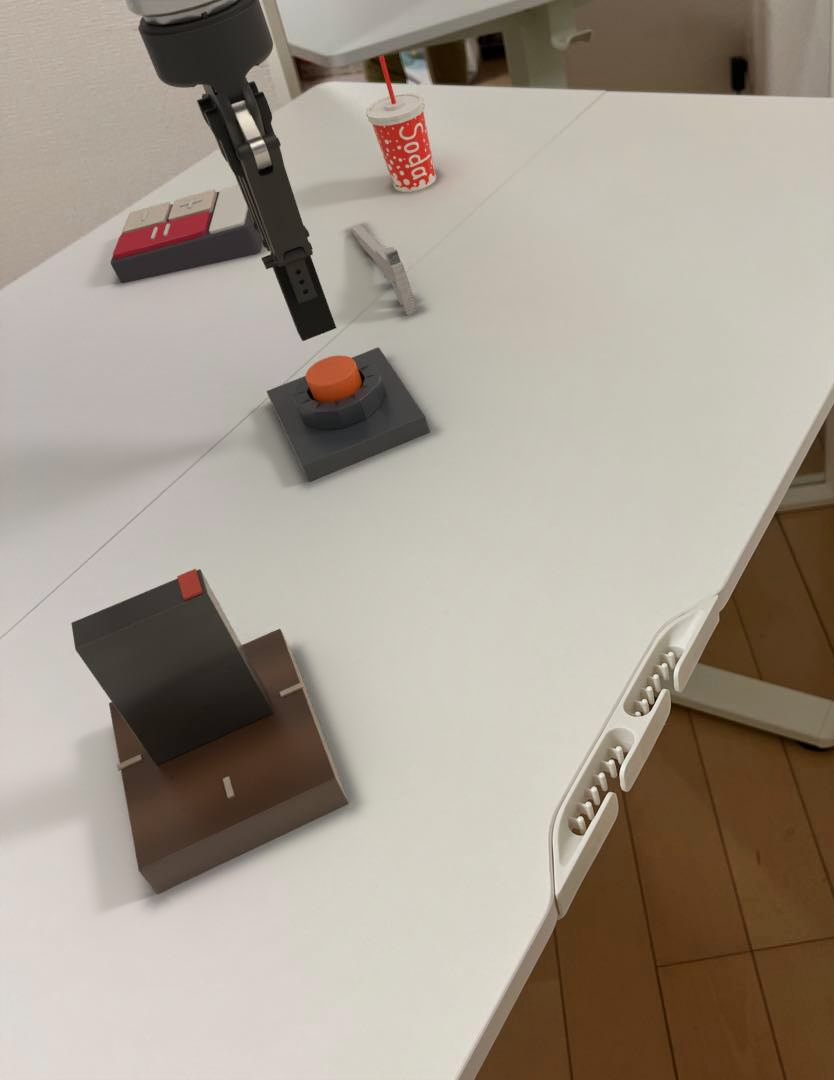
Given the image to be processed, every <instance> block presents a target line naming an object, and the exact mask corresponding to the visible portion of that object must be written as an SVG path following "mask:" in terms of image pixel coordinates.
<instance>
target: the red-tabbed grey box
mask: <svg viewBox="0 0 834 1080" xmlns="http://www.w3.org/2000/svg"><path fill="white" fill-rule="evenodd" d="M71 630H72V637H73V643H74V650H75V652H76V653H77V654H78V656H79V657H80V658H81V660H82V661H83V663H84V664H85V666H86V667H87V669H88V670H89V672H90V673H91V674H92V676H93V677H94V678H95V680H96V681H97V683H98V684H99V686H100V688H102V690H103V691H104V693H105V694H106V696H107V697H108V699H109V700H110V702H112V703H113V704H114V706H115V707H116V708H117V710H118V711H119V713H120V714H121V716H122V717H123V718H124V720H125V721H126V723H127V724H128V726H129V727H130V728H131V730H132V731H133V733H134V734H135V736H136V737H137V738H138V740H139V741H140V743H141V744H142V746H143V747H144V748H145V750H146V751H147V753H148V754H149V755H150V757H151V758H152V760H153V761H154V763H155V764H156V765H159V764H161V763H163V762H165V761H167V760H170V759H172V758H174V757H176V756H179V755H181V754H183V753H185V752H187V751H190V750H192V749H194V748H196V747H199V746H201V745H203V744H205V743H207V742H210V741H212V740H214V739H216V738H219V737H221V736H223V735H225V734H227V733H230V732H232V731H234V730H236V729H239V728H241V727H243V726H245V725H247V724H250V723H252V722H254V721H256V720H259V719H261V718H263V717H265V716H267V715H270V714H272V713H273V710H272V707H271V704H270V701H269V698H268V695H267V692H266V689H265V687H264V685H263V683H262V681H261V679H260V678H259V676H258V674H257V672H256V670H255V668H254V667H253V665H252V663H251V661H250V659H249V657H248V656H247V654H246V652H245V650H244V648H243V646H242V645H243V644H242V643H241V641H240V639H239V637H238V636H237V634H236V632H235V630H234V628H233V626H232V624H231V623H230V621H229V619H228V617H227V615H226V613H225V612H224V610H223V608H222V606H221V605H220V602H219V600H218V599H217V597H216V595H215V594H214V591H213V589H212V588H211V586H210V583H209V582H208V580H207V578H206V576H205V575H204V573H203V571H202V569H201V568H199V569H196V568H194V569H191V570H189V571H186V572H184V573H181V574H180V575H177V578H175V579H172V580H170V581H168V582H165V583H163V584H161V585H158V586H155V587H153V588H151V589H148V590H147V591H143V592H141V593H139V594H137V595H135V596H132V597H130V598H127V599H125V600H122V601H120V602H117V603H115V604H112V605H110V606H107V607H106V608H103V609H101V610H99V611H96V612H94V613H92V614H89V615H86V616H84V617H82V618H79V619H76V620H74V621H72V622H71Z"/></svg>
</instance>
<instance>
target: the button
mask: <svg viewBox="0 0 834 1080" xmlns="http://www.w3.org/2000/svg"><path fill="white" fill-rule="evenodd" d="M305 376H306V380H307V383H308V385H309V388H310V390H311V393H312V396H313V398H314V399H315V400H316V401H318V402H321V403H323V402H334V401H339V400H341V399H344V398H346V397H349V396H351V395H352V394H353V393H355V392H356V391H357V390H358V389H359V388H360V387H361V385H362V380H361V377H360V374H359V371H358V368H357V366H356V363H355V361H354V360H353V359H352V357H350V356H348V355H332V356H328V357H325V358H322V359H319V360H318V361H317V362H314V364H312V365H311V366H310V367H309V368H308V370H307V371H306V373H305Z"/></svg>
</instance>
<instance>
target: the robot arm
mask: <svg viewBox="0 0 834 1080" xmlns="http://www.w3.org/2000/svg"><path fill="white" fill-rule="evenodd" d="M125 3H126V6H127V8H128V10H129V11H130V12H131V13H133V14H134V15H137V16H140V17H141V18H140V20H139V24H138V28H137V29H138V32H139V35H140V37H141V40H142V42H143V44H144V47H145V49H146V51H147V54H148V56H149V59H150V61H151V64H152V66H153V68H154V71H155V73H156V75H157V77H158V79H159V80H160V81H161V82H162V83H164V84H166V85H167V86H170V87H173V88H185V89H187V88H195V87H196V86H202V88H203V90H204V92H205V93H203V94H201V98H198V99H196V103H197V105H198V108H199V111H200V113H201V116H202V118H203V120H204V121H205V123H206V125H207V126H208V127H209V129H210V130H211V132H212V135H214V139H215V142H216V143H217V146H218V149H219V151H220V154H221V155H222V157H223V158H224V160H225V162H227V164H228V166H229V168H230V170H231V171H232V173H233V175H234V177H235V179H236V182H237V185H239V187H240V189H241V192H242V194H243V197H244V199H245V202H246V204H247V207H248V209H249V212H250V214H251V217H252V219H253V221H254V222H253V226H254V228H255V230H256V231H257V233H259V234H261V237H262V239H263V240H262V247H263V248H265V249H266V251H267V252H270V253H269V254H268V255H265V256H262V257H260V259H261V261H262V263H263V265H264V268H265V269H266V270H270V269H271V268H272V270H273V272H274V276H275V278H276V280H277V283H278V285H279V288H280V291H281V293H282V295H283V298H284V301H285V304H286V306H287V309H288V311H289V314H290V316H291V319H292V321H293V324H294V327H295V329H296V331H297V335H298V336H299V337H300V340H301V342H305V341H307V340H311V339H312V338H315V337H317V336H320V335H322V334H326V333H328V332H330V331H334V330H336V329H337V325H336V323H335V320H334V317H333V313H332V312H331V309H330V306H329V304H328V300H327V298H326V295H325V293H324V290H323V287H322V284H321V281H320V278H319V275H318V273H317V270H316V267H315V264H314V262H313V259H312V256H313V254H314V251H313V246H312V244H311V241H309V237H310V231H309V230H308V229H307V227H306V226H305V225H304V223H303V219H302V217H301V213H300V210H299V207H298V204H297V201H296V198H295V194H294V191H293V188H292V185H291V182H290V179H289V175H288V172H287V170H286V167H285V163H284V159H283V154H282V151H281V144H282V143H281V142H280V140H279V137H277V135H276V133H275V131H274V127H273V125H272V122H273V121H272V120H273V113H272V110H271V107H270V105H269V102H268V100H267V97H266V95H265V93H264V92H263V91H259V88H258V86H257V83H256V82H255V81H254V80H252V81H248V79H247V75H248V73H249V72H250V71H251V70H252V69H253V68H254V67H258V66H260V65H261V64H262V63H264V62H265V61H266V60H267V59H268V58H269V57H270V55H271V54H272V51H273V49H274V40H273V37H272V34H271V32H270V28H269V25H268V22H267V20H266V17H265V14H264V10H263V7H262V4H261V2H260V0H125Z"/></svg>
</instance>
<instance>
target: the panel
mask: <svg viewBox="0 0 834 1080" xmlns="http://www.w3.org/2000/svg"><path fill="white" fill-rule="evenodd" d="M241 645H242V646H243V648H244V650H245V652H246V654H247V656H248V657H249V659H250V661H251V663H252V665H253V667H254V668H255V670H256V672H257V674H258V676H259V678H260V679H261V681H262V683H263V685H264V687H265V689H266V692H267V695H268V698H269V701H270V704H271V707H272V710H273V713H272V714H270V715H267V716H265V717H263V718H261V719H259V720H256V721H254V722H252V723H250V724H247V725H245V726H243V727H241V728H239V729H236V730H234V731H232V732H230V733H227V734H225V735H223V736H221V737H219V738H216V739H214V740H212V741H210V742H207V743H205V744H203V745H201V746H199V747H196V748H194V749H192V750H190V751H187V752H185V753H183V754H181V755H179V756H176V757H174V758H172V759H170V760H167V761H165V762H163V763H161V764H159V765H156V764H155V763H154V761H153V760H152V758H151V757H150V755H149V754H148V753H147V751H146V750H145V748H144V747H143V746H142V744H141V743H140V741H139V740H138V738H137V737H136V736H135V734H134V733H133V731H132V730H131V728H130V727H129V726H128V724H127V723H126V721H125V720H124V718H123V717H122V716H121V714H120V713H119V711H118V710H117V708H116V707H115V706H114V704H113V703H112V701H110V702H108V706H109V713H110V718H111V722H112V724H111V725H112V729H113V734H114V741H115V745H116V751H117V757H118V762H119V763H118V764H116V768H117V771H119V772H120V775H121V780H122V786H123V790H124V796H125V802H126V807H127V813H128V819H129V824H130V829H131V835H132V841H133V847H134V852H135V858H136V863H137V868H138V872H139V873H140V875H141V876H142V877H143V878H144V880H145V881H146V882H147V883H148V884H149V886H150V887H151V888H152V890H154V892H155V894H157V895H159V894H162V893H164V892H166V891H168V890H170V889H172V888H175V887H176V886H179V885H181V884H183V883H185V882H187V881H189V880H191V879H193V878H195V877H198V876H200V875H202V874H204V873H206V872H208V871H211V870H213V869H214V868H217V867H219V866H221V865H223V864H225V863H227V862H229V861H231V860H234V859H236V858H237V857H240V856H242V855H244V854H246V853H249V852H250V851H252V850H255V849H257V848H259V847H262V846H263V845H265V844H267V843H270V842H271V841H274V840H276V839H278V838H281V837H282V836H285V835H287V834H289V833H290V832H293V831H294V830H296V829H299V828H301V827H303V826H306V825H307V824H309V823H312V822H314V821H316V820H318V819H320V818H322V817H324V816H326V815H328V814H331V813H333V812H335V811H338V810H339V809H341V808H344V807H345V806H348V805H349V803H350V802H349V799H348V797H347V794H346V792H345V789H344V786H343V784H342V781H341V778H340V776H339V773H338V769H337V767H336V765H335V763H334V760H333V757H332V754H331V751H330V749H329V745H328V744H327V741H326V737H325V735H324V733H323V730H322V727H321V725H320V722H319V719H318V717H317V714H316V711H315V709H314V706H313V703H312V700H311V698H310V695H309V692H308V690H307V688H306V685H305V682H304V679H303V677H302V673H301V672H300V668H299V666H298V662H297V661H296V658H295V655H294V653H293V651H292V649H291V647H290V645H289V643H288V641H287V639H286V637H285V635H284V633H283V631H282V629H281V628H278V629H275V630H273V631H271V632H268V633H266V634H264V635H261V636H260V637H257V638H255V639H252V640H250V641H247V642H246V643H243V644H241Z"/></svg>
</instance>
